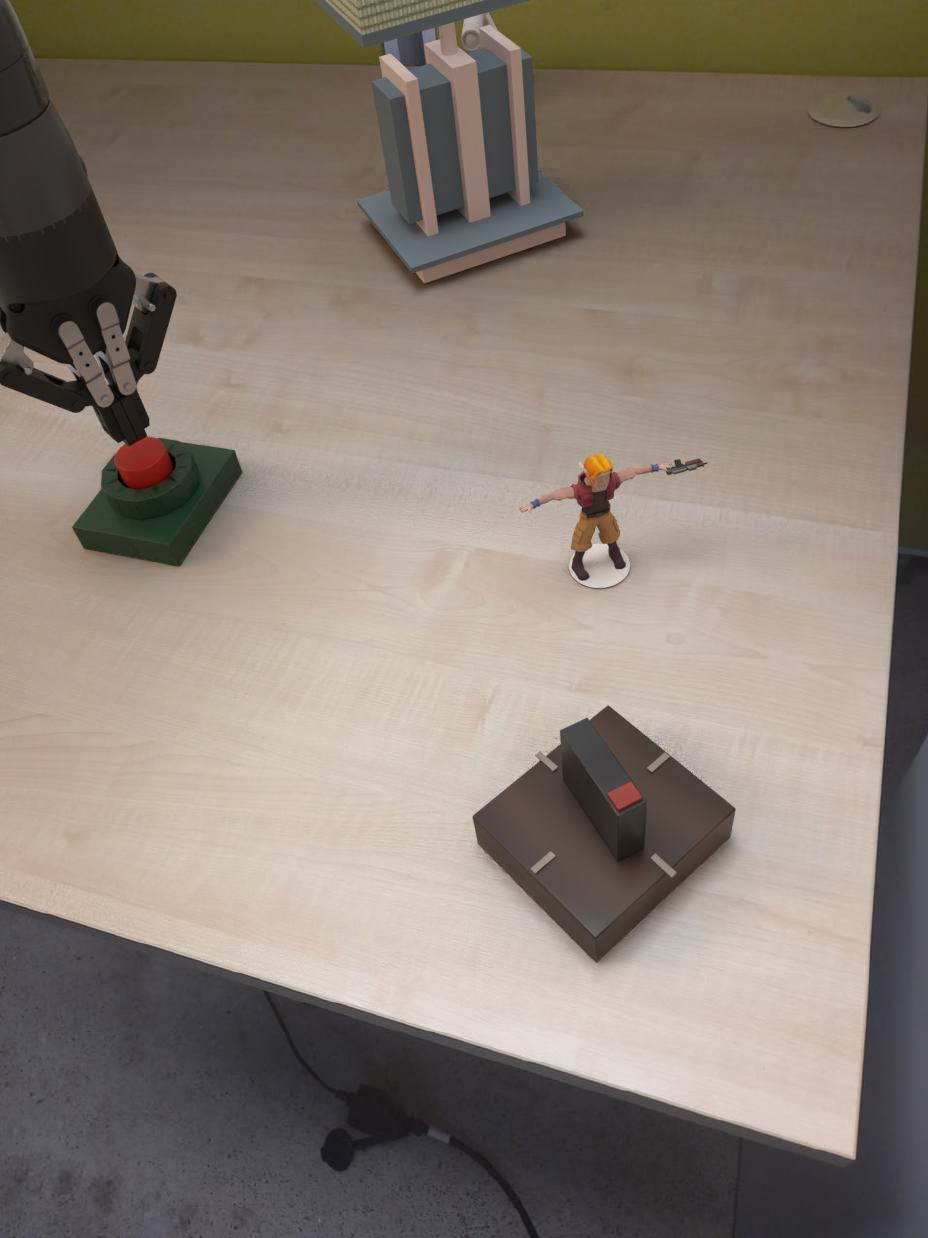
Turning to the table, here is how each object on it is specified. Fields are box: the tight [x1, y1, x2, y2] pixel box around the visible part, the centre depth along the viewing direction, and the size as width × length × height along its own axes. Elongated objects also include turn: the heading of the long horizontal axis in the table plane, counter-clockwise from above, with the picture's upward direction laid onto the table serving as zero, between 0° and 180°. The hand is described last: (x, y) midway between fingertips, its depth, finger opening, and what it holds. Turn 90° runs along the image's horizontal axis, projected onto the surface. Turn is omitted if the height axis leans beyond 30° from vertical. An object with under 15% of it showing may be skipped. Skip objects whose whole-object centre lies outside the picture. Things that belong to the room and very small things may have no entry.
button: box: [114, 436, 173, 489], centre depth 72 cm, size 4×4×2 cm
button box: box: [71, 437, 243, 567], centre depth 74 cm, size 10×8×4 cm
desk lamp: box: [313, 0, 585, 284], centre depth 84 cm, size 18×14×33 cm
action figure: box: [518, 453, 709, 589], centre depth 64 cm, size 12×3×9 cm, turn 107°
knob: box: [559, 717, 647, 861], centre depth 50 cm, size 6×2×5 cm, turn 26°
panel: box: [471, 705, 737, 963], centre depth 53 cm, size 10×10×3 cm
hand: (131, 436), depth 70 cm, fingers closed
